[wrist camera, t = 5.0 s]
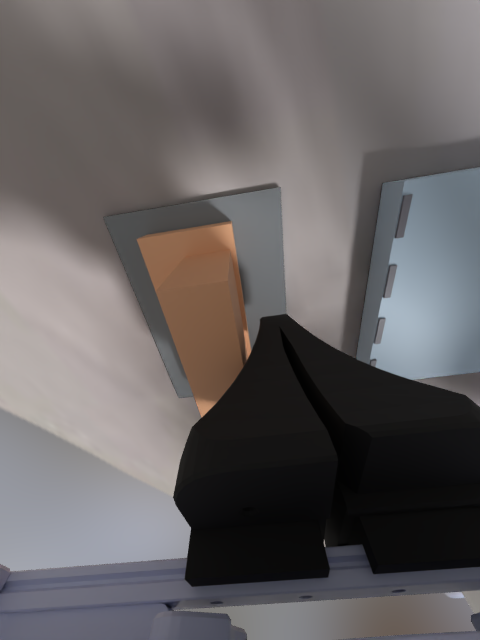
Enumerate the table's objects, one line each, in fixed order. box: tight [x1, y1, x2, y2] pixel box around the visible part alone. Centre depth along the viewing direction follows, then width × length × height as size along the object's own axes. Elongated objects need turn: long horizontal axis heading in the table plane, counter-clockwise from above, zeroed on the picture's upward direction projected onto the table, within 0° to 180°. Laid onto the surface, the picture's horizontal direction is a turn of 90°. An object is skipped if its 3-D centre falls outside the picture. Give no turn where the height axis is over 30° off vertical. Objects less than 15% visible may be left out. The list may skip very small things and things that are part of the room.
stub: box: [137, 221, 251, 417], centre depth 10 cm, size 4×10×5 cm, turn 8°
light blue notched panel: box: [356, 167, 480, 380], centre depth 11 cm, size 9×11×2 cm
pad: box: [103, 187, 286, 398], centre depth 13 cm, size 8×12×1 cm, turn 8°
